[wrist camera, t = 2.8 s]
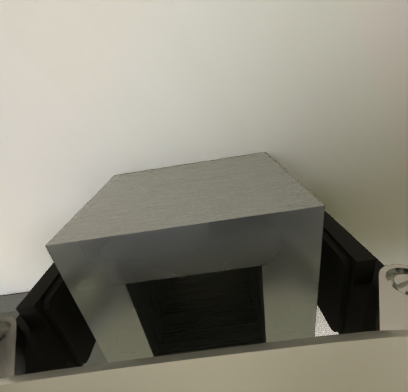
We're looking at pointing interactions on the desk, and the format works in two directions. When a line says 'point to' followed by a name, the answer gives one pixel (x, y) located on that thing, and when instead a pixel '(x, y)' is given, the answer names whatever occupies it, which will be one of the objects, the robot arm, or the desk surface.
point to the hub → (195, 258)
